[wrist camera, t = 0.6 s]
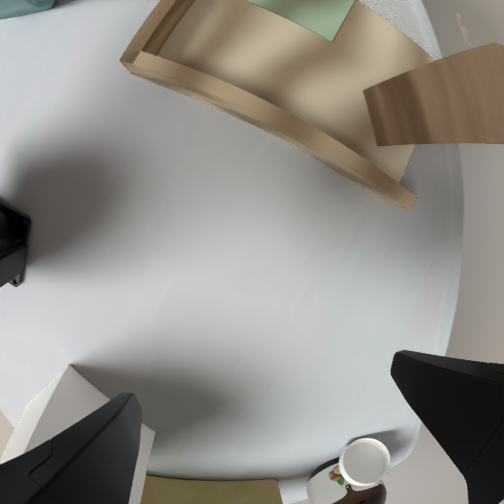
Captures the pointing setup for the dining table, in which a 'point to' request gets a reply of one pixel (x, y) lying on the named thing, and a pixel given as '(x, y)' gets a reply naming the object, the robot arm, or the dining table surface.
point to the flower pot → (22, 7)
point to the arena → (287, 74)
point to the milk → (69, 421)
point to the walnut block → (442, 101)
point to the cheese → (209, 491)
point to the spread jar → (352, 475)
